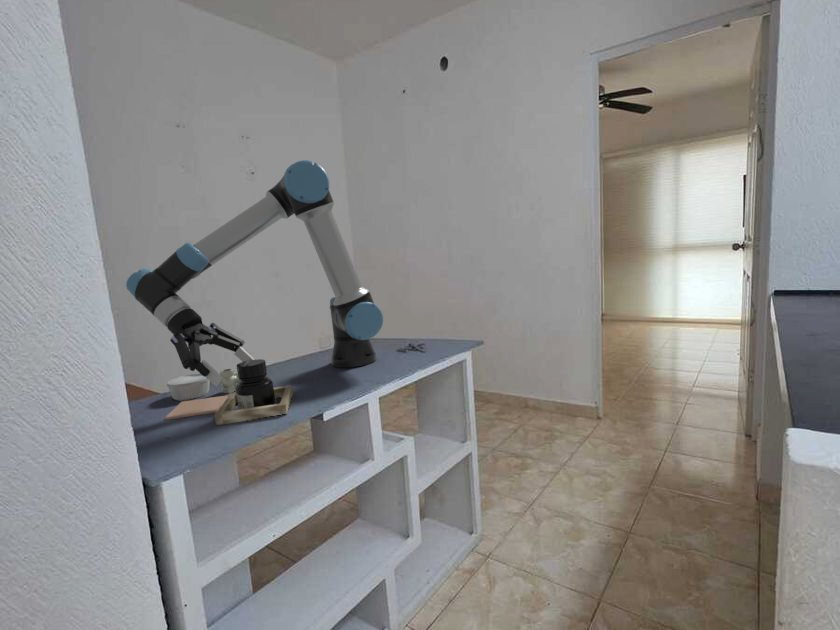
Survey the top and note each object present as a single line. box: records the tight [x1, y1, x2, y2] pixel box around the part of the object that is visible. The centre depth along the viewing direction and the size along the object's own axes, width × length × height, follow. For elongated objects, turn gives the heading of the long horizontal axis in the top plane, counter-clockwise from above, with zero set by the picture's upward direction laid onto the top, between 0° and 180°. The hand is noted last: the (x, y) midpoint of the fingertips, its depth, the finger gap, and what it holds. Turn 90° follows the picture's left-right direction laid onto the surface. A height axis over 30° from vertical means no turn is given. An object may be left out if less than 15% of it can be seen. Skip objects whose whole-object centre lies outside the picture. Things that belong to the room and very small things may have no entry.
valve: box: [219, 368, 241, 394], centre depth 129 cm, size 7×7×12 cm
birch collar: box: [214, 384, 294, 426], centre depth 110 cm, size 16×16×2 cm
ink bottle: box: [235, 358, 277, 410], centre depth 109 cm, size 10×9×12 cm
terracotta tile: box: [164, 394, 229, 421], centre depth 115 cm, size 12×12×1 cm
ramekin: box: [166, 372, 211, 402], centre depth 126 cm, size 11×11×5 cm
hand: (238, 374), depth 109 cm, fingers open, 13 cm apart
